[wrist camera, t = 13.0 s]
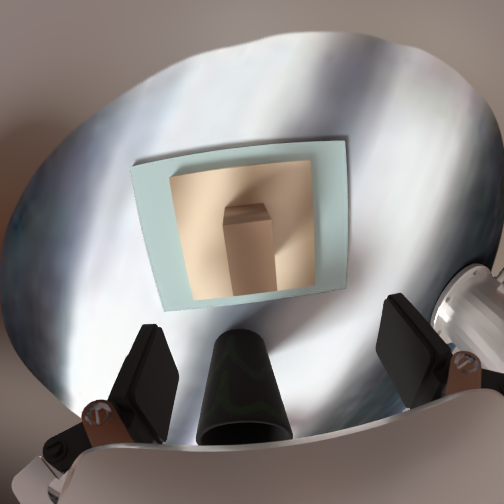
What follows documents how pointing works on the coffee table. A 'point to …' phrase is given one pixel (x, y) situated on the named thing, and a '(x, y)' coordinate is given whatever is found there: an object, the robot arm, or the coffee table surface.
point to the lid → (246, 228)
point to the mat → (158, 172)
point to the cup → (241, 395)
